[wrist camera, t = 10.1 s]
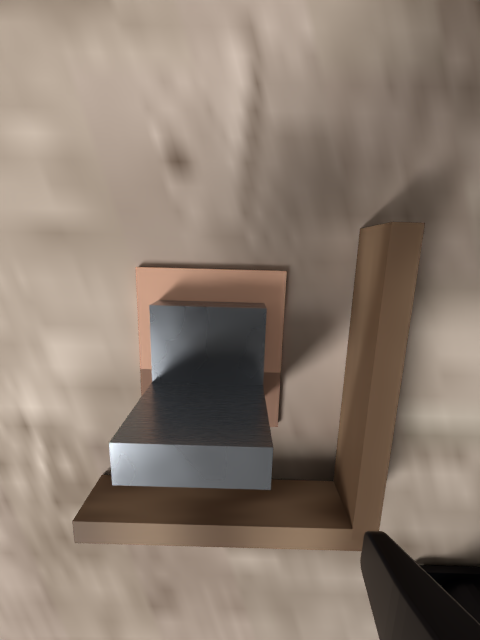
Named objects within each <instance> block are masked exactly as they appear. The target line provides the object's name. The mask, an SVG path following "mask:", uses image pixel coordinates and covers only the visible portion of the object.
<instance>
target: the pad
mask: <svg viewBox="0 0 480 640" xmlns="http://www.w3.org/2000/svg"><path fill="white" fill-rule="evenodd" d="M286 273H287V271H270V270H232V269H195V268H158V267H136V287H137V308H138V330H139V351H140V373H141V394H142V396H143V394H144V393H145V391H146V390H147V388H148V387H149V386H150V384H151V383H152V366H151V339H150V311H149V305H151V304H152V303H154V302H156V301H158V300H177V301H212V302H248V303H264V304H265V306H266V308H267V314H266V335H265V356H264V377H263V387H264V394H265V400H266V406H267V413H268V419H269V425H270V427H278V411H279V393H280V376H281V359H282V342H283V325H284V308H285V290H286Z"/></svg>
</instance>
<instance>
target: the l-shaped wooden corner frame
mask: <svg viewBox="0 0 480 640" xmlns="http://www.w3.org/2000/svg"><path fill="white" fill-rule="evenodd" d="M424 226H425V223H412V222H389V223H385V224H380V225H375V226H371V227H366V228H361V229H360V235H359V245H358V254H357V264H356V273H355V282H354V292H353V301H352V311H351V320H350V329H349V339H348V348H347V358H346V367H345V376H344V386H343V395H342V405H341V414H340V424H339V433H338V442H337V452H336V461H335V471H334V480H333V481H313V480H277V479H271V490H258V489H224V488H190V487H156V486H122V485H112V476H111V475H102V476H101V477H100V479H99V480H98V482H97V483H96V485H95V487H94V488H93V490H92V491H91V493H90V494H89V496H88V498H87V499H86V501H85V502H84V504H83V505H82V507H81V509H80V510H79V512H78V513H77V515H76V516H75V518H74V520H73V521H72V523H73V532H74V541H75V543H93V544H129V545H165V546H200V547H236V548H271V549H307V550H342V551H362V545H363V538H364V534H365V532H366V531H379V527H380V520H381V514H382V507H383V500H384V494H385V487H386V480H387V474H388V467H389V460H390V454H391V447H392V440H393V434H394V427H395V420H396V413H397V407H398V400H399V393H400V387H401V380H402V373H403V367H404V360H405V353H406V347H407V340H408V333H409V327H410V320H411V313H412V306H413V300H414V293H415V286H416V280H417V273H418V266H419V260H420V253H421V246H422V240H423V233H424Z"/></svg>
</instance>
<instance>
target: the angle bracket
mask: <svg viewBox="0 0 480 640" xmlns="http://www.w3.org/2000/svg"><path fill="white" fill-rule="evenodd" d="M149 311H150V339H151V366H152V383H151V384H150V386H149V387H148V388H147V390H146V391H145V393H144V394H143V396H142V397H141V398H140V400H139V401H138V403H137V404H136V405H135V407H134V408H133V410H132V411H131V413H130V414H129V415H128V417H127V418H126V420H125V421H124V423H123V424H122V425H121V427H120V428H119V430H118V431H117V432H116V434H115V435H114V437H113V438H112V440H111V441H110V442H109V448H110V462H111V476H112V485H122V486H156V487H190V488H224V489H258V490H271V476H272V458H273V444H272V438H271V431H270V425H269V419H268V413H267V406H266V400H265V394H264V387H263V377H264V356H265V335H266V314H267V308H266V306H265V304H264V303H248V302H212V301H177V300H158V301H156V302H154V303H152V304H151V305H149Z"/></svg>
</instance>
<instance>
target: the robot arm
mask: <svg viewBox="0 0 480 640" xmlns="http://www.w3.org/2000/svg"><path fill="white" fill-rule="evenodd" d="M361 570H362V575H363V578H364V582H365V586H366V590H367V594H368V597H369V601H370V605H371V609H372V612H373V616H374V620H375V624H376V628H377V631H378V635H379V639H380V640H480V567H462V566H427V565H418V564H417V563H416V562H415V561H414V560H413V559H412V558H411V557H410V556H409V555H408V554H407V553H406V552H405V551H404V550H403V549H402V548H401V547H400V546H399V545H398V544H396V543H395V542H394V541H393V540H392V539H391V538H390V537H389V536H388V535H387V534H386V533H384V532H382V531H366V532H365V534H364V538H363V545H362V553H361Z"/></svg>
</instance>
